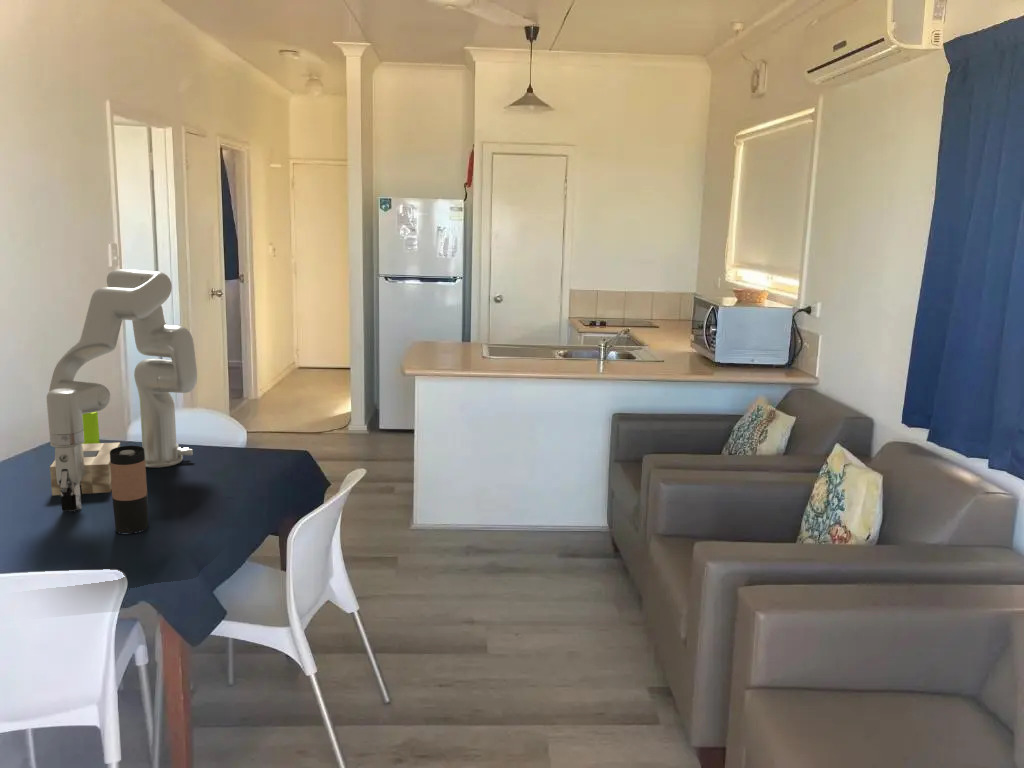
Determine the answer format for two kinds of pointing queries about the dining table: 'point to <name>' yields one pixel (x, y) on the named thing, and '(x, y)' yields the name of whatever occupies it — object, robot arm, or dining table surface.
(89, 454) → the gray square panel
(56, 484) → the socket block
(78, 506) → the peg
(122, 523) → the travel mug
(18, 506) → the dining table surface
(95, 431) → the green soap pump bottle
